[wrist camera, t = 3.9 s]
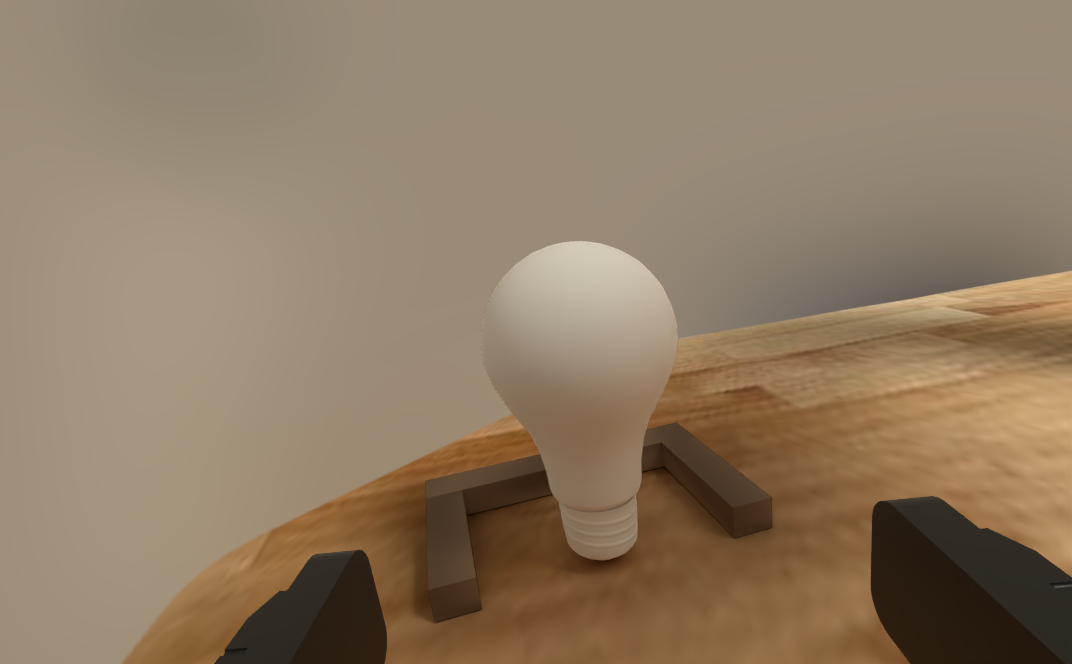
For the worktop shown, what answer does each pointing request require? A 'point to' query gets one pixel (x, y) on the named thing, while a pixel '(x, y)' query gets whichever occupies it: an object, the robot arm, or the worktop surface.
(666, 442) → the walnut holder
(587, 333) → the lightbulb
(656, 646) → the worktop surface
